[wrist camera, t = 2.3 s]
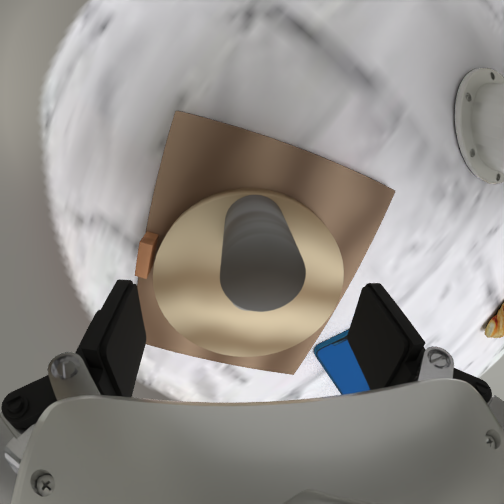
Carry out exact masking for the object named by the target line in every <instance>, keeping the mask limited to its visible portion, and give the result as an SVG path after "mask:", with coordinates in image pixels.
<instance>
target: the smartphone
mask: <svg viewBox="0 0 504 504" xmlns="http://www.w3.org/2000/svg"><path fill="white" fill-rule="evenodd" d="M348 332H349V330H347V331H345V332H343V333H341V334H339V335H337V336H334V337H332V338H330V339H328V340H326V341H324V342H322V343H320V344H318V345H317V346H316V347H315V348H314V353H315V356H316V357H317V359H318V360H319V362H320V363H321V365H322V366H323V368H324V369H325V371H326V372H327V374H328V375H329V377H330V378H331V380H332V381H333V383H334V384H335V386H336V387H337V389H338V390H339V392H340V393H341V395H344V394H350V393H357V392H363V391H369V390H370V388H369V386H368V384H367V381H366V379H365V377H364V375H363V373H362V370H361V368H360V366H359V364H358V362H357V360H356V358H355V355H354V353H353V351H352V349H351V347H350V345H349V343H348V339H347V335H348Z"/></svg>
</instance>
